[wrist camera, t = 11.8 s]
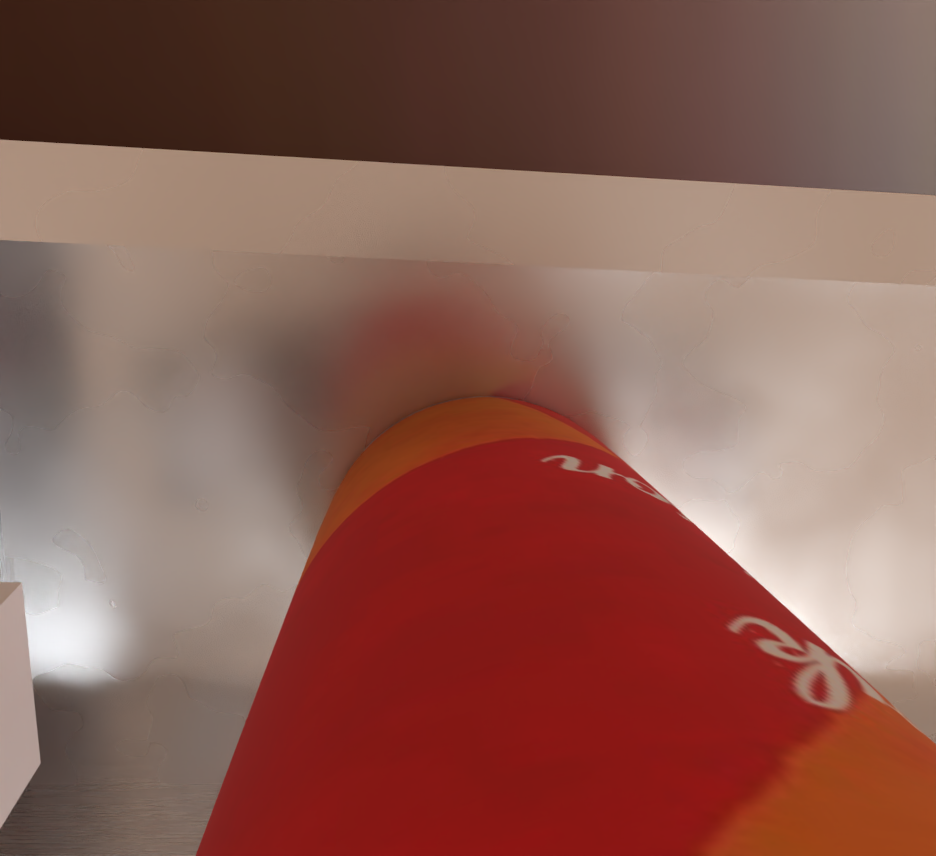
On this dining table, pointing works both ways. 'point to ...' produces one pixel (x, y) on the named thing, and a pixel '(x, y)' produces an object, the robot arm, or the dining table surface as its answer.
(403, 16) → the dining table surface
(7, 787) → the robot arm
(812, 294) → the channel
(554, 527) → the coffee cup
